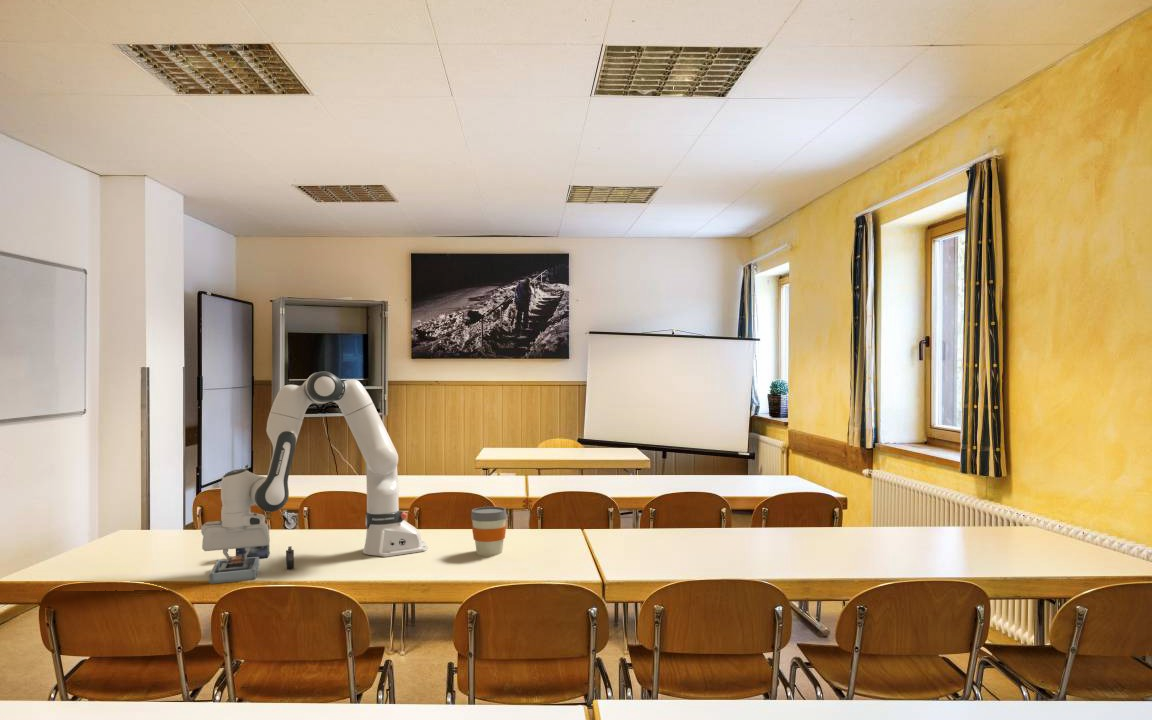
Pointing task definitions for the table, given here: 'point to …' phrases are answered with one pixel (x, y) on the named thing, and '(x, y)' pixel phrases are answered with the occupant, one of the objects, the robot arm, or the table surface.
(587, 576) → the table surface
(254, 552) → the small box
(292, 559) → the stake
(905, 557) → the table surface
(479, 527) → the reusable coffee cup
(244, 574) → the tray
